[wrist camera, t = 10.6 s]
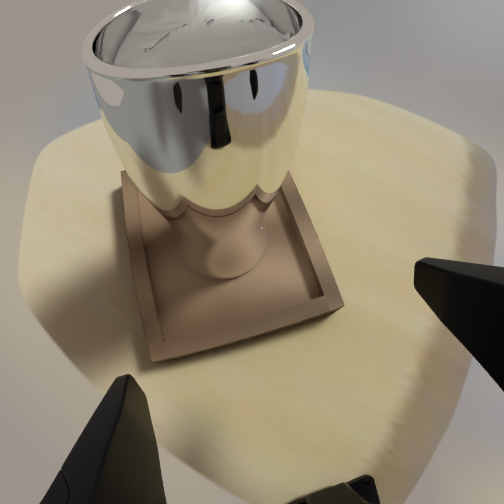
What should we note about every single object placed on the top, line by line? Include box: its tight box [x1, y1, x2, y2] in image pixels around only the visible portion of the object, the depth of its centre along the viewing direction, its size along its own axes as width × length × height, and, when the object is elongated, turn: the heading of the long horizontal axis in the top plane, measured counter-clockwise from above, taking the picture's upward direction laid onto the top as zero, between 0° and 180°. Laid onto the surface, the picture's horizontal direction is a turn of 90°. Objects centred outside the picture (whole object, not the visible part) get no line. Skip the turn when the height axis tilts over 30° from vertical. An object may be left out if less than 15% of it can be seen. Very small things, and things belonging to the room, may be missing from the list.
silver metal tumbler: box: [82, 0, 314, 280], centre depth 13 cm, size 7×7×15 cm
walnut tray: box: [121, 170, 344, 363], centre depth 20 cm, size 14×12×2 cm
